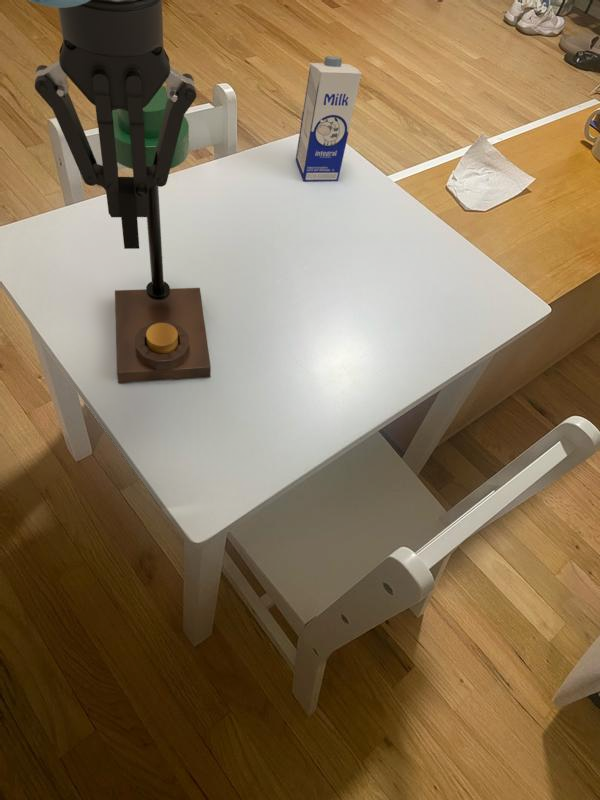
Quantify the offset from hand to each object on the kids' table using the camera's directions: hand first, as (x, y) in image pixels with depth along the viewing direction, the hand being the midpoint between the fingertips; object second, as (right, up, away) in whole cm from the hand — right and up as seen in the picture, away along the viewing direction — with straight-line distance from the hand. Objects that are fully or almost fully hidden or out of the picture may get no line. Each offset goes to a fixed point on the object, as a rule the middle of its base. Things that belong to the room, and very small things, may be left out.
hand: (131, 239), depth 62 cm
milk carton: (+21, +27, +51) cm, 62 cm away
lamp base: (-2, -8, +22) cm, 24 cm away
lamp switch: (-1, -9, +17) cm, 19 cm away
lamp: (-3, 0, +23) cm, 23 cm away
